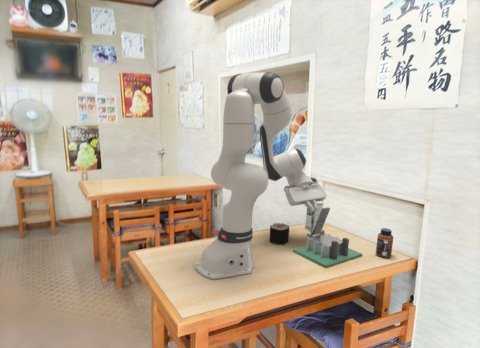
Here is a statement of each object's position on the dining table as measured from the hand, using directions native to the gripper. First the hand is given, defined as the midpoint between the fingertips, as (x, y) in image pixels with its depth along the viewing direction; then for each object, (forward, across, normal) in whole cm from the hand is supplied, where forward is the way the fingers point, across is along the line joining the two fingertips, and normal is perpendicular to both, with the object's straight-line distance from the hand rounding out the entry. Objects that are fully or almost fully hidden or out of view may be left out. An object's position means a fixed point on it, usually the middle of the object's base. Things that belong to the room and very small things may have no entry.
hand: (314, 210), depth 146 cm
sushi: (+3, -8, +20) cm, 22 cm away
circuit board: (+18, 0, +5) cm, 18 cm away
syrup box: (0, +18, +23) cm, 29 cm away
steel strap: (+6, 0, -1) cm, 6 cm away
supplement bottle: (+27, +19, -4) cm, 33 cm away
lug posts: (+22, 0, +1) cm, 22 cm away
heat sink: (+16, 0, +6) cm, 17 cm away
